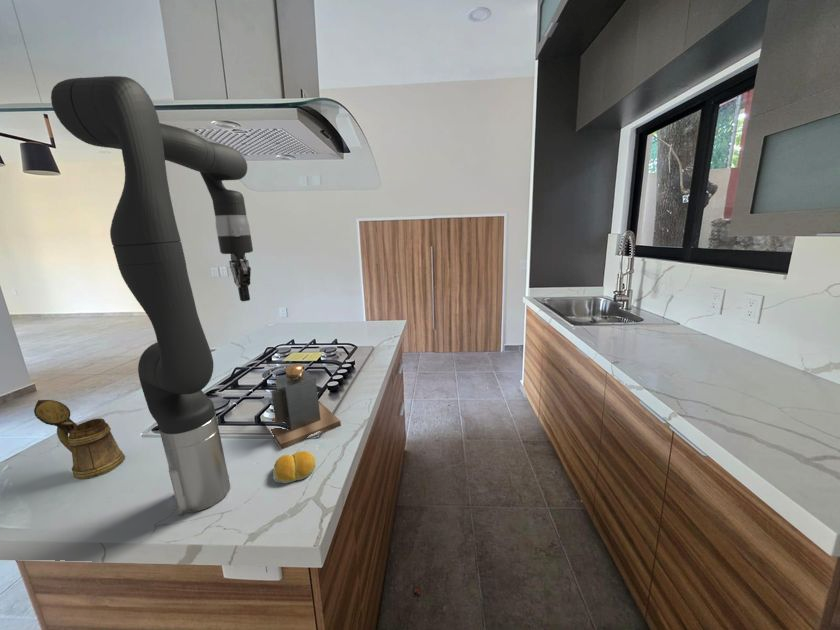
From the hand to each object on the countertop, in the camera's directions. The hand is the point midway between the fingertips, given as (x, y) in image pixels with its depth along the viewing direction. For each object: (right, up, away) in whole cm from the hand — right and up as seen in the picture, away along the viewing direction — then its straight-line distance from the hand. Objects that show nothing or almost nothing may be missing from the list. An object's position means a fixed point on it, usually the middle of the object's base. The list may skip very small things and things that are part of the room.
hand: (245, 300), depth 91 cm
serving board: (+14, -34, +4) cm, 37 cm away
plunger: (+14, -31, +4) cm, 34 cm away
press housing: (+13, -33, +3) cm, 36 cm away
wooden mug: (-31, -40, -10) cm, 52 cm away
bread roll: (+18, -39, -14) cm, 46 cm away
